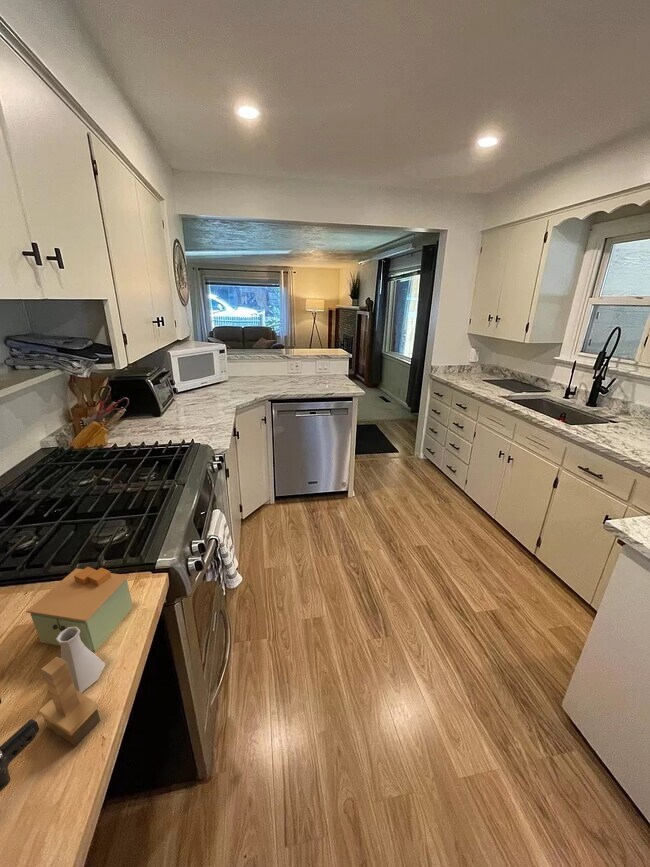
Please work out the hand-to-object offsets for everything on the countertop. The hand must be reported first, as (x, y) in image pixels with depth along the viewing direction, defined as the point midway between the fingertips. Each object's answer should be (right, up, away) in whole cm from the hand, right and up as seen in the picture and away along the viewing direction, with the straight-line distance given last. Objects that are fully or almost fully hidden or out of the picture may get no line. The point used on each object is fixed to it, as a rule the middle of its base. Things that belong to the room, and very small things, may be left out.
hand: (16, 709), depth 48 cm
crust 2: (-5, +7, +26) cm, 27 cm away
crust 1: (-8, +7, +26) cm, 28 cm away
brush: (+2, -9, +8) cm, 12 cm away
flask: (-2, -6, +16) cm, 17 cm away
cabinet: (-7, -2, +26) cm, 27 cm away
